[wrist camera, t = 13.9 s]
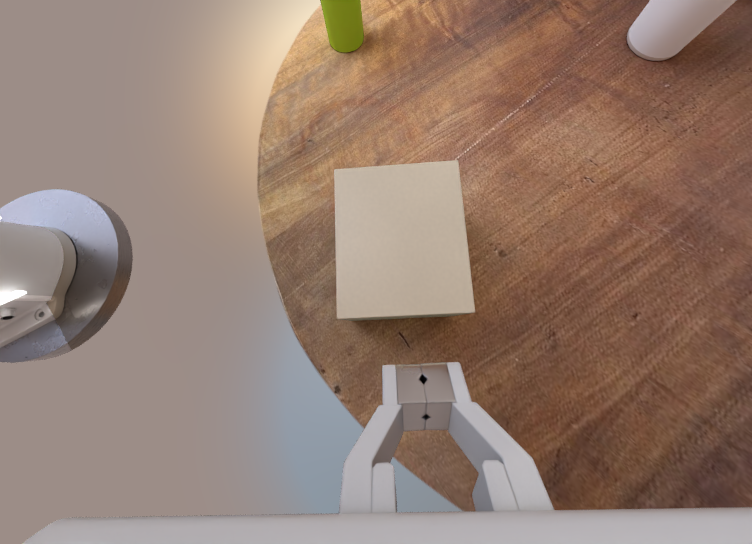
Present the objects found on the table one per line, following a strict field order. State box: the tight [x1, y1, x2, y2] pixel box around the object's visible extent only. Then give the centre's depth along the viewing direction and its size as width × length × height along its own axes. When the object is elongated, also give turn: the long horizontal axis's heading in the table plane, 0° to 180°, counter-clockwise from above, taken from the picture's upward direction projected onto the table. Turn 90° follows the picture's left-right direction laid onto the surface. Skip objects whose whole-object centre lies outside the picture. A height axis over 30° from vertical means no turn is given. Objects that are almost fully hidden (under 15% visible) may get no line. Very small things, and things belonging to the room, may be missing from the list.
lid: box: [334, 160, 475, 319], centre depth 28 cm, size 16×14×1 cm
